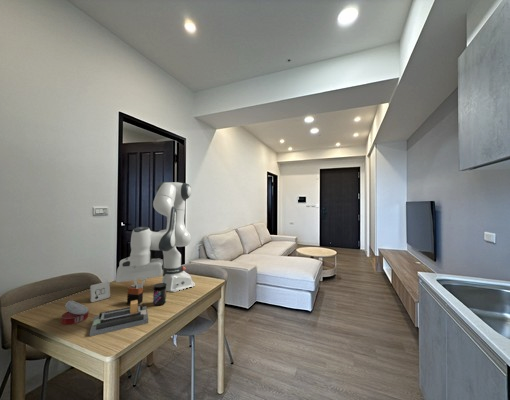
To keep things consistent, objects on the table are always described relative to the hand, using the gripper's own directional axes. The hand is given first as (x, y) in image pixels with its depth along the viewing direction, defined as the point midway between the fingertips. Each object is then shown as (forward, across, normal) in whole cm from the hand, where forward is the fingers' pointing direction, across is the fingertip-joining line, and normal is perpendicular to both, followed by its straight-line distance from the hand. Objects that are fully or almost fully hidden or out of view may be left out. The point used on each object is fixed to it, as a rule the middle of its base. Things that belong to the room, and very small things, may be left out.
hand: (139, 287), depth 105 cm
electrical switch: (+15, +20, -33) cm, 41 cm away
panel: (+14, +7, +1) cm, 16 cm away
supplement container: (+15, -10, -12) cm, 22 cm away
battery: (+15, +2, -18) cm, 24 cm away
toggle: (+12, +2, +1) cm, 13 cm away
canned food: (+15, +26, -12) cm, 33 cm away
